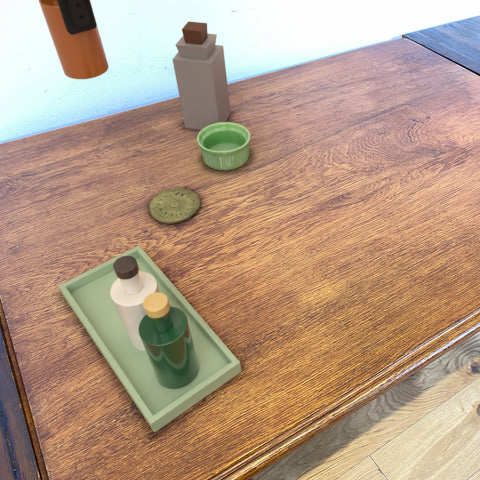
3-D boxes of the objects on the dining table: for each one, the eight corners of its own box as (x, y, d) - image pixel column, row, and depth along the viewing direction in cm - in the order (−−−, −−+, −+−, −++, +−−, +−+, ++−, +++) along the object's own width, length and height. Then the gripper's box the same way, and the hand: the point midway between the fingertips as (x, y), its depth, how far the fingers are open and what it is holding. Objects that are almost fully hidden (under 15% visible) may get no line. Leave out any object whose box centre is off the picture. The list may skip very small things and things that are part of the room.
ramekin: (262, 152, 91) (260, 131, 88) (231, 179, 85) (228, 158, 82) (222, 137, 94) (219, 116, 91) (189, 162, 88) (185, 140, 85)
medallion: (186, 228, 77) (185, 225, 76) (139, 217, 78) (138, 213, 78) (209, 195, 82) (208, 192, 82) (164, 185, 84) (164, 182, 83)
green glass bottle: (147, 367, 60) (120, 299, 51) (185, 343, 62) (165, 274, 53) (169, 397, 57) (144, 331, 48) (207, 372, 60) (190, 303, 50)
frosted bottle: (122, 332, 63) (91, 261, 54) (158, 310, 66) (135, 239, 56) (141, 359, 61) (113, 289, 51) (178, 336, 63) (158, 265, 54)
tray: (63, 295, 68) (57, 285, 66) (142, 255, 73) (139, 245, 72) (154, 432, 55) (150, 424, 54) (241, 371, 61) (240, 362, 59)
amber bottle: (56, 67, 63) (22, -29, 55) (97, 55, 65) (69, -39, 57) (75, 84, 60) (41, -15, 52) (116, 70, 63) (90, -26, 55)
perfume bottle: (220, 132, 95) (207, 36, 82) (185, 127, 96) (167, 32, 83) (230, 112, 100) (220, 20, 87) (197, 109, 100) (182, 16, 88)
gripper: (-69, -192, 48) (9, 6, 61) (-4, -166, 39) (71, 58, 52) (14, -196, 52) (71, -8, 65) (89, -173, 43) (138, 38, 56)
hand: (70, 20), depth 58 cm, fingers closed on amber bottle, 5 cm apart
